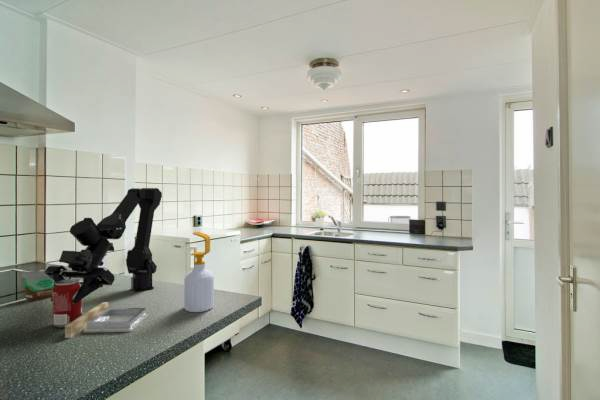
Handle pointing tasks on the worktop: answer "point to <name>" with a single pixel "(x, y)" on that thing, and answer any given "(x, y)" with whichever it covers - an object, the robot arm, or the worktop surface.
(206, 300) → the soap bottle
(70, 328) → the oak threshold
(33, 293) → the food container
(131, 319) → the tray
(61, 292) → the soda can
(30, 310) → the worktop surface
